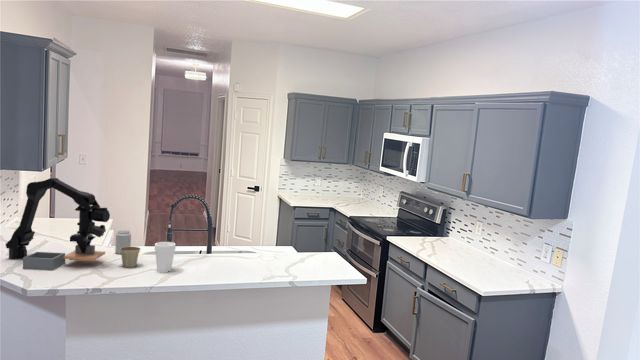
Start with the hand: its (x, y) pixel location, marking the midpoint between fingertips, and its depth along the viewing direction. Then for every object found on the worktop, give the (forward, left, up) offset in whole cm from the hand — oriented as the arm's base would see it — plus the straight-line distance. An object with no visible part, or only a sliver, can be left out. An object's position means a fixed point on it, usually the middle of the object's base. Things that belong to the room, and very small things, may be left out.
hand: (84, 252), depth 216 cm
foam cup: (+38, -2, -7) cm, 39 cm away
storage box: (-15, -7, -6) cm, 18 cm away
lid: (0, 0, -2) cm, 2 cm away
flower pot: (+20, +3, -7) cm, 21 cm away
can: (+8, +27, -7) cm, 29 cm away
